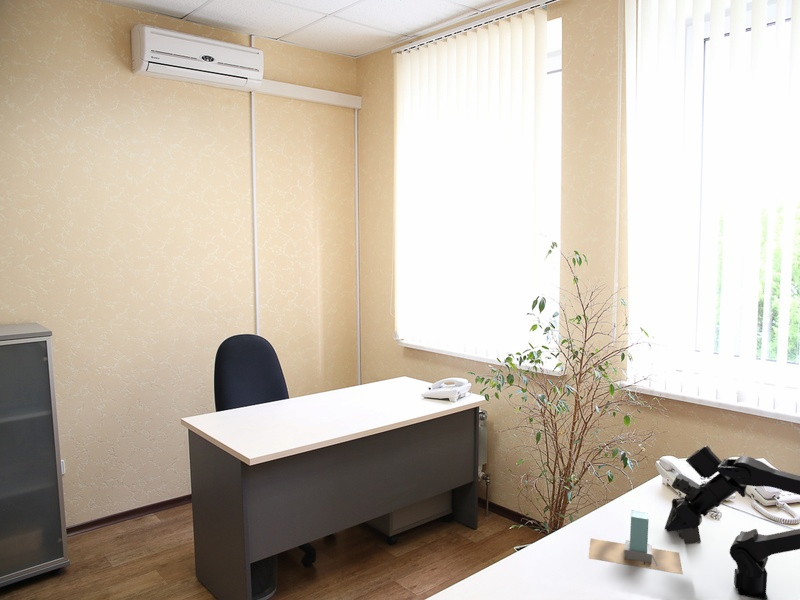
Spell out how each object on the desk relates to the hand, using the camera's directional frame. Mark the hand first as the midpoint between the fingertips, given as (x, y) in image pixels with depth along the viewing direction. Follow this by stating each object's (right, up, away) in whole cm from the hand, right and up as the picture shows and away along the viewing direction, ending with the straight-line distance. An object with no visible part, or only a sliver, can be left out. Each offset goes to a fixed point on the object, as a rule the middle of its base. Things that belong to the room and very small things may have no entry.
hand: (670, 524), depth 167 cm
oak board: (-8, -12, +6) cm, 15 cm away
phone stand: (+12, -11, +20) cm, 26 cm away
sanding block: (-7, -11, +5) cm, 14 cm away
